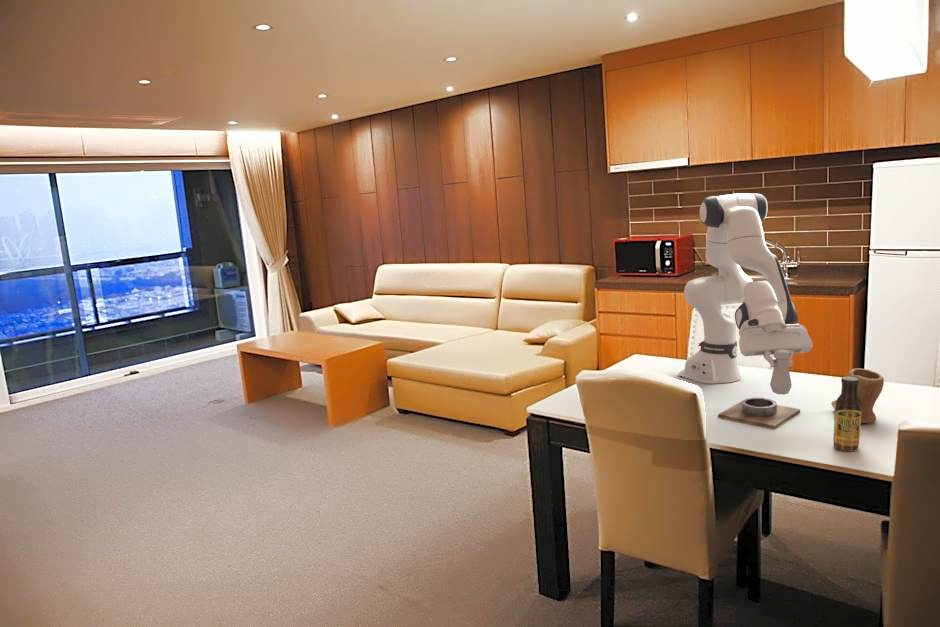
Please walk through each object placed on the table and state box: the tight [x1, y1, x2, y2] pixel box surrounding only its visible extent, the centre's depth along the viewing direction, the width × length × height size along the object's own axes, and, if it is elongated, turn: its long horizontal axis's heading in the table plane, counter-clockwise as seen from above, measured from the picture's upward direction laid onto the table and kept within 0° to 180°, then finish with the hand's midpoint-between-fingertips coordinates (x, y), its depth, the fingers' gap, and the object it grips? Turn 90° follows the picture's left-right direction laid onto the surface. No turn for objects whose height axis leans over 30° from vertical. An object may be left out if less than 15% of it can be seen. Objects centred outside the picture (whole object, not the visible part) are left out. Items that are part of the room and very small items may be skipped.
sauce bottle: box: [832, 376, 862, 452], centre depth 183 cm, size 7×6×20 cm
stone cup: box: [830, 367, 885, 424], centre depth 205 cm, size 15×12×15 cm
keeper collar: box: [742, 397, 778, 417], centre depth 214 cm, size 10×10×3 cm
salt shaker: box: [769, 349, 792, 396], centre depth 199 cm, size 6×6×13 cm
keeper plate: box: [718, 400, 801, 430], centre depth 215 cm, size 18×18×1 cm
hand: (782, 365), depth 198 cm, fingers closed on salt shaker, 3 cm apart
